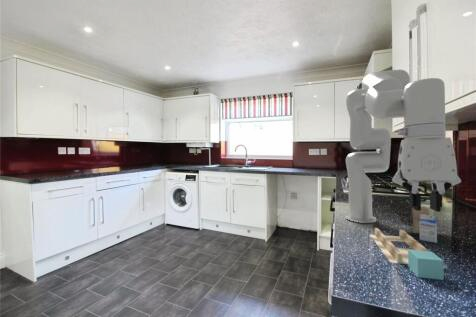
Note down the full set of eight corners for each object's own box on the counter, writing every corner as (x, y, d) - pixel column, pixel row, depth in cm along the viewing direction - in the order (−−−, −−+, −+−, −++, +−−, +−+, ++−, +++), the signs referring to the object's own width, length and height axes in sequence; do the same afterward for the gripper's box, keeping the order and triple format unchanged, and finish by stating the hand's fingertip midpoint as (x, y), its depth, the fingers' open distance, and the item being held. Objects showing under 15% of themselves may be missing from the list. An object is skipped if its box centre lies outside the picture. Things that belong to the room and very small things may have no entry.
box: (412, 233, 84) (412, 204, 84) (417, 231, 87) (417, 203, 87) (430, 237, 80) (429, 207, 80) (434, 235, 82) (434, 205, 82)
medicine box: (419, 237, 81) (419, 213, 81) (436, 240, 78) (435, 215, 78) (419, 244, 75) (419, 218, 75) (437, 247, 72) (437, 220, 72)
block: (408, 249, 57) (417, 258, 52) (431, 251, 56) (443, 260, 51) (408, 272, 57) (418, 283, 53) (432, 275, 56) (443, 286, 51)
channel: (369, 238, 81) (369, 227, 81) (408, 241, 77) (408, 229, 77) (390, 267, 60) (390, 252, 60) (445, 273, 56) (445, 258, 56)
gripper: (389, 133, 52) (391, 212, 52) (479, 129, 47) (481, 215, 47) (379, 136, 59) (381, 205, 59) (457, 132, 54) (458, 207, 54)
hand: (425, 209), depth 53 cm, fingers open, 3 cm apart
